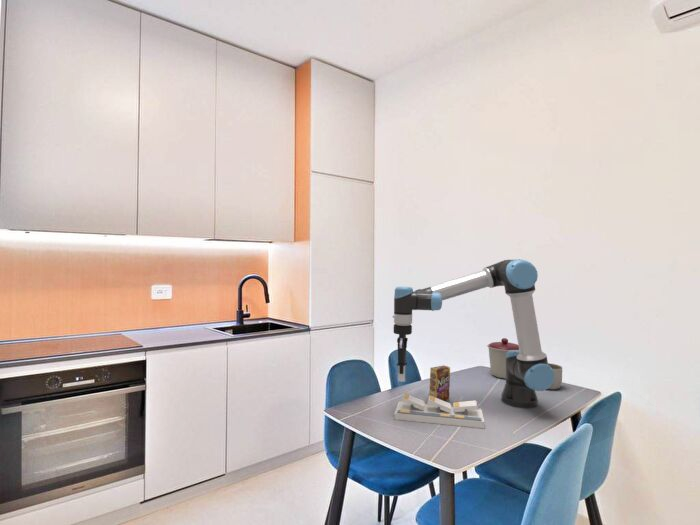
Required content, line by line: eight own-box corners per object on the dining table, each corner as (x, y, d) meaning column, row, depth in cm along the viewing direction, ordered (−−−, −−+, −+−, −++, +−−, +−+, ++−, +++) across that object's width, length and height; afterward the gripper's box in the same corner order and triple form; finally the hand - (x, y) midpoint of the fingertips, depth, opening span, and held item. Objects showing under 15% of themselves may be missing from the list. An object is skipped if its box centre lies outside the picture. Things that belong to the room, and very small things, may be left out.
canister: (518, 383, 213) (518, 342, 213) (483, 377, 223) (483, 338, 223) (524, 375, 228) (525, 337, 228) (491, 370, 238) (492, 334, 238)
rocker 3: (476, 404, 166) (475, 399, 167) (478, 411, 160) (477, 405, 160) (454, 406, 168) (453, 401, 169) (454, 413, 162) (453, 407, 162)
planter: (563, 386, 209) (563, 365, 209) (560, 393, 198) (561, 370, 198) (536, 382, 215) (536, 361, 215) (532, 388, 205) (533, 366, 205)
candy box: (435, 404, 181) (436, 369, 181) (428, 401, 184) (429, 367, 184) (450, 400, 186) (450, 366, 186) (442, 397, 189) (443, 364, 189)
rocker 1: (423, 405, 171) (425, 400, 171) (422, 411, 165) (424, 406, 164) (402, 396, 173) (404, 392, 173) (401, 402, 167) (402, 397, 166)
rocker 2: (449, 407, 169) (450, 402, 169) (449, 413, 162) (451, 408, 162) (428, 399, 171) (429, 394, 171) (427, 404, 164) (429, 399, 164)
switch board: (481, 415, 168) (481, 405, 168) (484, 428, 155) (484, 418, 155) (398, 407, 176) (398, 398, 176) (394, 419, 163) (394, 409, 163)
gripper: (395, 321, 177) (394, 376, 177) (391, 325, 164) (390, 384, 164) (413, 322, 175) (411, 377, 175) (410, 327, 163) (409, 386, 163)
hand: (401, 380), depth 170 cm, fingers closed
